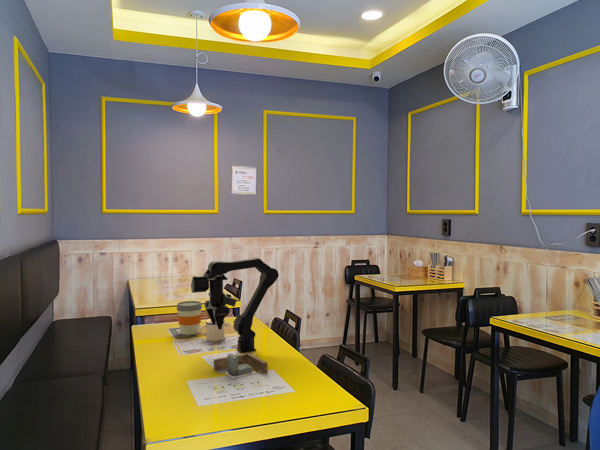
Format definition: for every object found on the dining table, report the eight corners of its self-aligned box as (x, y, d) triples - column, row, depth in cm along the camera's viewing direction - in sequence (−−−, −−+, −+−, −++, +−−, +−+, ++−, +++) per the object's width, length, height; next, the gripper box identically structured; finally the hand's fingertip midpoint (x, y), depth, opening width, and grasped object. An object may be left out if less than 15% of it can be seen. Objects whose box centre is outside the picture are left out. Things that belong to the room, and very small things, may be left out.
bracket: (233, 376, 172) (233, 357, 171) (227, 372, 176) (227, 354, 176) (252, 372, 176) (252, 353, 176) (246, 368, 180) (246, 350, 180)
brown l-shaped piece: (248, 362, 188) (248, 352, 188) (267, 372, 176) (267, 362, 176) (213, 369, 180) (213, 359, 180) (231, 381, 167) (231, 370, 167)
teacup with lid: (223, 335, 228) (223, 312, 228) (226, 340, 220) (226, 316, 219) (198, 338, 225) (198, 314, 224) (201, 343, 216) (200, 318, 216)
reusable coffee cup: (199, 335, 229) (198, 305, 229) (174, 336, 229) (173, 305, 229) (204, 329, 242) (204, 300, 241) (180, 329, 242) (180, 300, 241)
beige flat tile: (246, 367, 182) (246, 367, 182) (256, 373, 176) (256, 372, 176) (224, 372, 176) (224, 372, 176) (233, 378, 170) (233, 378, 170)
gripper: (241, 292, 193) (241, 329, 193) (228, 286, 210) (228, 320, 210) (215, 294, 188) (215, 332, 189) (203, 288, 205) (204, 323, 205)
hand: (216, 326), depth 198 cm, fingers open, 9 cm apart
